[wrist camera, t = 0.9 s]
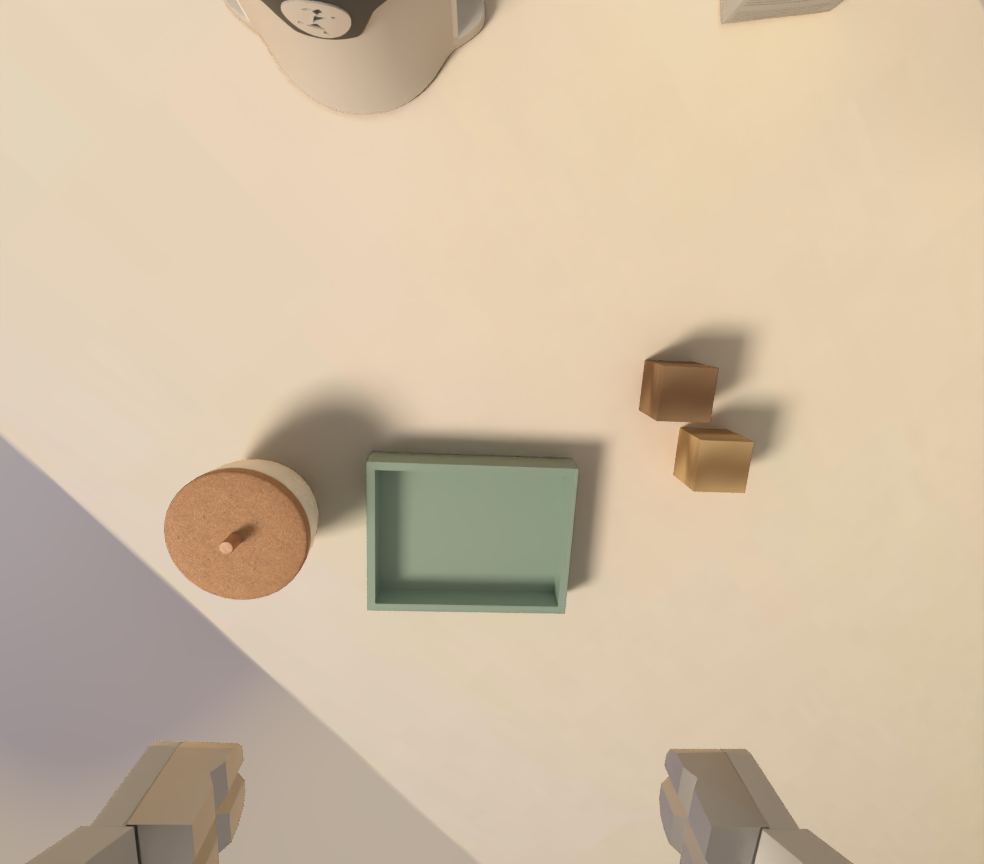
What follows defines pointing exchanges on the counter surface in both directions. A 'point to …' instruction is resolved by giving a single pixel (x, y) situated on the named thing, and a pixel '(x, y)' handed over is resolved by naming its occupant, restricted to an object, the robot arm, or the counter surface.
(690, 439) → the oak block
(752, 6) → the supplement box
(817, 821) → the counter surface
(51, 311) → the counter surface
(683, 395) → the walnut block
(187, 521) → the lidded jar
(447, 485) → the tray
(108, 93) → the counter surface
